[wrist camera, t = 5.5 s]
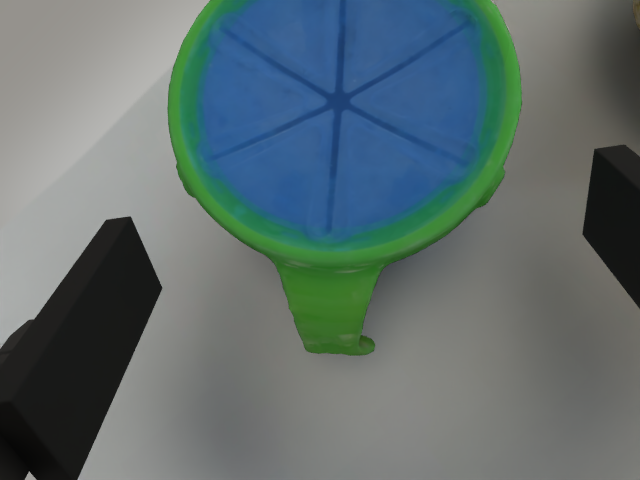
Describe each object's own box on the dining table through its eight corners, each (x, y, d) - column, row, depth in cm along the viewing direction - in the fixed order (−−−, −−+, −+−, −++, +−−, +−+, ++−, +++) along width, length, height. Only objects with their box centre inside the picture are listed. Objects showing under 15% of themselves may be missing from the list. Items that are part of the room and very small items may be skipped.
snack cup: (445, 370, 22) (491, 396, 12) (222, 329, 24) (106, 323, 14) (486, 52, 25) (550, -136, 15) (282, 35, 27) (219, -143, 17)
